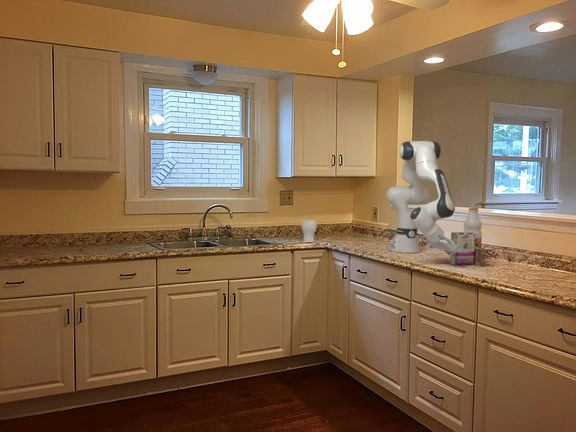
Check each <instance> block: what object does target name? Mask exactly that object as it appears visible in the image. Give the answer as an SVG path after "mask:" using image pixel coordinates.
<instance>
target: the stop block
mask: <svg viewBox="0 0 576 432" xmlns="http://www.w3.org/2000/svg"><path fill="white" fill-rule="evenodd" d="M474 266H478V267H481V268H483V267H484V268H485V267H486V248H485V247H484V248H483V247H481V248H480V247H476V246H475V264H474Z"/></svg>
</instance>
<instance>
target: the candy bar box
mask: <svg viewBox="0 0 576 432" xmlns="http://www.w3.org/2000/svg"><path fill="white" fill-rule="evenodd" d="M450 239H451V240H452V241H453V242H454V243H455V244H456V245H457V246H458V249H457V250H456V251H455V252H453V253H454V254H453V255H450V264H451V265H453V266H473V265H474V264H475V233H474V232H464V231H459V232H458V231H457V232H455V231H454V232H450ZM474 266H475V265H474Z"/></svg>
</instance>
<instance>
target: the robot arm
mask: <svg viewBox="0 0 576 432" xmlns="http://www.w3.org/2000/svg"><path fill="white" fill-rule="evenodd" d="M441 151H442V150H441V145H440V143H439V142H437V141H430V140H429V141H428V140H413V141H409V140H407V141H404V142H402V143H401V145H400V148H399V156H400V158H401V159H402V160H403V165H402V171H401V178H402V180H403V182H406V183H408V184H409V186H405V185H404V186H403V185H399V186H391V187H389V188H388V190H387V191H386V200H387V201H388V203H389V204H390V205H391V206H392V207H393V208H394V209H395V211H396V215H397V227H396V231H395V235H394V236H393V237H392V238H391V240H389V244H390V246H387V247H386V249H387V250H388V251H390V252H393V253H405V254H409V253H419V252H422V248H421V249H420V238H419V236H418V231H419V232H421V234H422V239H423V240H424V241H426V242H427V243H428V244H429V245H430V246H431V247H432V248H434V249H435V248H436V249H437V250H438V249H439V250H442V251H444V252H445V253H446V254H448V256H451V255H453V254H454V253H453V252H455V251H456V250H457V249H458V246H457V245H456V244H455V243H454V242H453V241H452V240H451V237H449V236H445V235H444V234H445V231H444V230H443V229H442V228H441V227H440V225H439V224H437V223H436V222H437V221H439V220H443V219H446V218H450V217H453V215H454V214H455V213H454V212H455V210H456V209H455V208H456V205H455V203H454V200H453V198H452V196H451V192H450V188H449V184H448V182H447V178H446V175H445V173H444V171H443V170H441V169H440V168H439V166H438V159H439V158H440V156H441ZM423 182H427V183H434V184H435V186H436V191H437V195H438V198H437V199H435V200H434V201H431V202H429V201H430V199H431V191H430V190H429V189H428V188H427V187H426V186H425V185H424V183H423ZM421 205H422V206H421ZM408 206H418V207H416V208H415V209H413V210H410V209H409V207H408ZM419 206H420V207H419Z"/></svg>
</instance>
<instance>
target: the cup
mask: <svg viewBox="0 0 576 432" xmlns="http://www.w3.org/2000/svg"><path fill="white" fill-rule="evenodd" d="M300 225H301V226H300V227H301V231H302V233H303V240H302V243H306V242H313V243H315V232H316V231H317V227H318V223H317V220H316V219H302V220H301V224H300Z"/></svg>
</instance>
